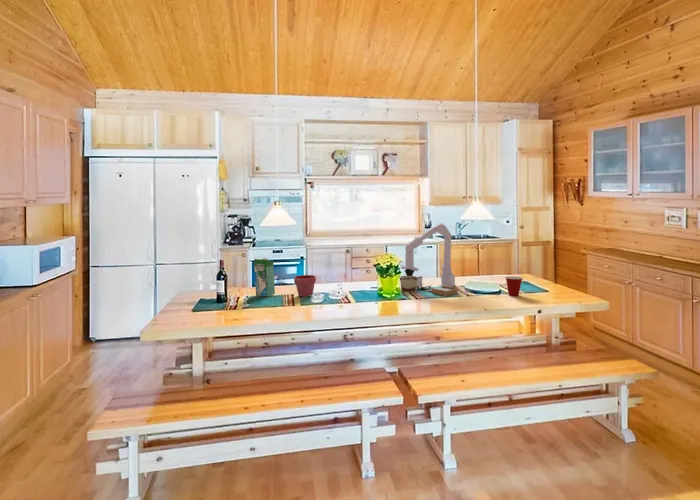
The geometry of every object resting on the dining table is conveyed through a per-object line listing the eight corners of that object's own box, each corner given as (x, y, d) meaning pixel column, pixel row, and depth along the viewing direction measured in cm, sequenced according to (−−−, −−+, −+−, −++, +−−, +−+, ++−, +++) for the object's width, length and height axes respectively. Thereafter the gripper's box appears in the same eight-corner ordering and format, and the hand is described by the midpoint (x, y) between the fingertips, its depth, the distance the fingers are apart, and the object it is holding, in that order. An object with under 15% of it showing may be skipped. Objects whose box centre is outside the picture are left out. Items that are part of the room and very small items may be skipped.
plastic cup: (522, 293, 308) (523, 275, 306) (522, 297, 298) (523, 278, 296) (504, 293, 312) (505, 274, 310) (504, 296, 301) (504, 278, 300)
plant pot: (304, 292, 327) (303, 273, 325) (320, 294, 319) (320, 275, 317) (290, 296, 315) (289, 277, 314) (306, 299, 307) (306, 279, 305)
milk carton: (274, 294, 324) (273, 257, 320) (267, 297, 316) (265, 259, 312) (263, 293, 327) (262, 256, 324) (255, 295, 319) (254, 258, 316)
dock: (433, 289, 330) (433, 283, 330) (457, 293, 315) (457, 288, 314) (421, 291, 323) (421, 286, 322) (446, 296, 307) (446, 291, 307)
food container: (417, 290, 326) (417, 275, 325) (417, 292, 320) (417, 277, 319) (399, 290, 327) (399, 275, 326) (399, 292, 321) (399, 277, 320)
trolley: (421, 286, 335) (421, 276, 334) (431, 288, 328) (431, 277, 327) (414, 288, 331) (414, 277, 330) (424, 290, 324) (424, 279, 323)
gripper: (398, 260, 339) (398, 279, 341) (413, 262, 328) (413, 282, 330) (404, 259, 344) (405, 277, 346) (420, 261, 333) (420, 280, 335)
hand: (409, 279), depth 338 cm, fingers closed
